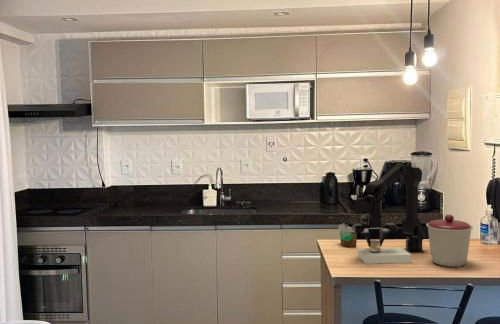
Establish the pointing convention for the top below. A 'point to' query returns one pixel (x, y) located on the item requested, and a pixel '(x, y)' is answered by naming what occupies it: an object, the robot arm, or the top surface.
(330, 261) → the top surface
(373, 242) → the peg
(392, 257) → the board
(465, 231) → the canister
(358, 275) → the top surface
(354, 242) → the food container
